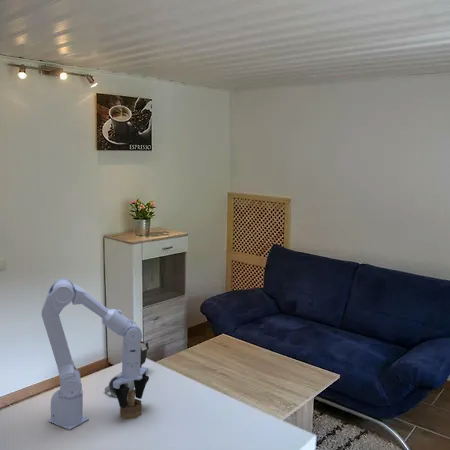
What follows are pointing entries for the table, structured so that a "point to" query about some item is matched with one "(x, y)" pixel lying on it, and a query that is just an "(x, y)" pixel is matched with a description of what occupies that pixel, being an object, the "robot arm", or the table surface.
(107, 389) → the ceramic mug
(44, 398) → the table surface
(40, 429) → the table surface
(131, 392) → the dowel
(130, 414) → the bead
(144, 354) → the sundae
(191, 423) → the table surface
